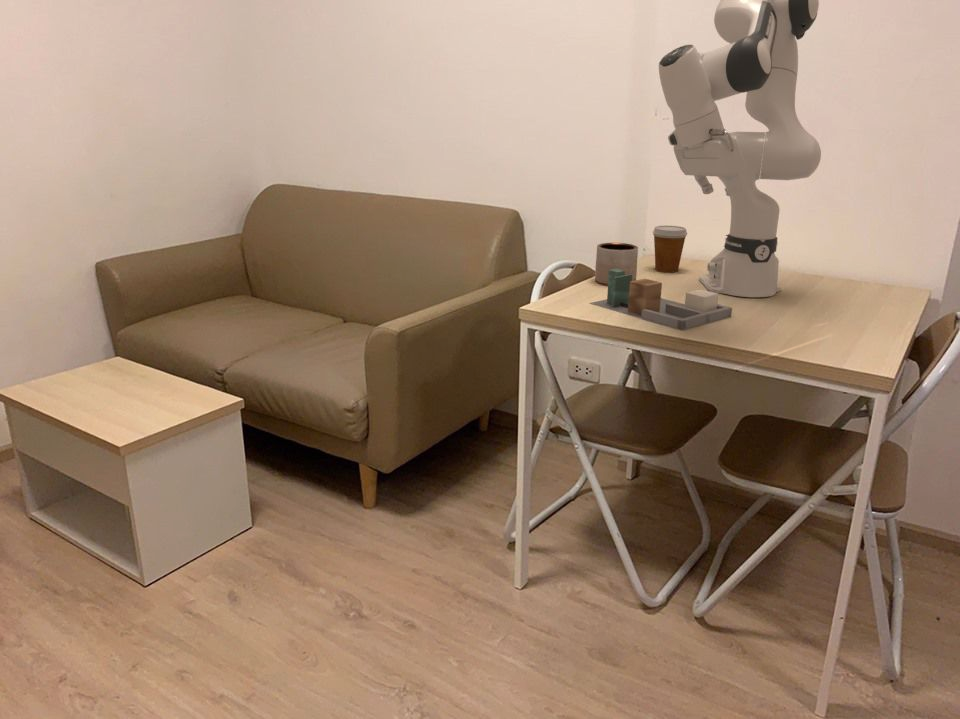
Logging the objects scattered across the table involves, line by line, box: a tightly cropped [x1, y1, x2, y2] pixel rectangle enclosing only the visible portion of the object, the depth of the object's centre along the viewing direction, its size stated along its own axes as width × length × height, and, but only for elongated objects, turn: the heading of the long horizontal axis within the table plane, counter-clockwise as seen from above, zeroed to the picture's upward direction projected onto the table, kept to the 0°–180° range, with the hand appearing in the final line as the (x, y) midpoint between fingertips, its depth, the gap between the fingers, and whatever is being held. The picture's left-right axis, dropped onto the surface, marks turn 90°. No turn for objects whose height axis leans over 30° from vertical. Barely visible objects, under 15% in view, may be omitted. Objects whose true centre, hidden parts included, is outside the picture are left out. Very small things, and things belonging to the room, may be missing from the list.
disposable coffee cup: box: [652, 225, 688, 273], centre depth 216 cm, size 10×10×12 cm
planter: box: [594, 242, 639, 286], centre depth 203 cm, size 11×11×10 cm
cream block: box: [684, 289, 719, 312], centre depth 172 cm, size 5×5×5 cm
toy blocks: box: [606, 269, 663, 316], centre depth 176 cm, size 13×6×8 cm, turn 37°
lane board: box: [588, 297, 733, 331], centre depth 176 cm, size 27×18×2 cm, turn 38°
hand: (720, 194), depth 159 cm, fingers open, 8 cm apart
